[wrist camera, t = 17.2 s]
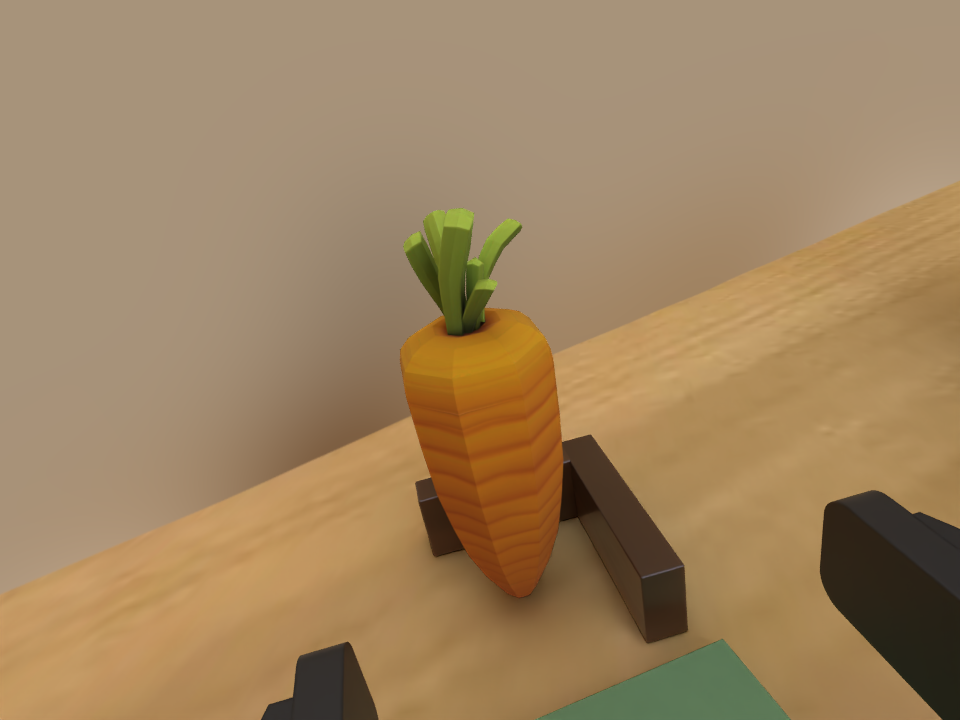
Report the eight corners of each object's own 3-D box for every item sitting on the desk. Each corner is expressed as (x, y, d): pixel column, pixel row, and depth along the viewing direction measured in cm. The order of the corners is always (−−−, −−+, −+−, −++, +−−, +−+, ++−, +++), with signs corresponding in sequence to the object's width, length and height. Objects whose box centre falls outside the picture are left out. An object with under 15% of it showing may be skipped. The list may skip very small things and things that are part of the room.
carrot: (473, 547, 26) (388, 197, 20) (590, 547, 25) (538, 174, 18) (445, 647, 22) (324, 239, 15) (584, 654, 20) (515, 212, 14)
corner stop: (597, 488, 28) (591, 433, 27) (688, 631, 20) (685, 565, 19) (430, 534, 27) (414, 481, 26) (459, 701, 20) (440, 637, 18)
